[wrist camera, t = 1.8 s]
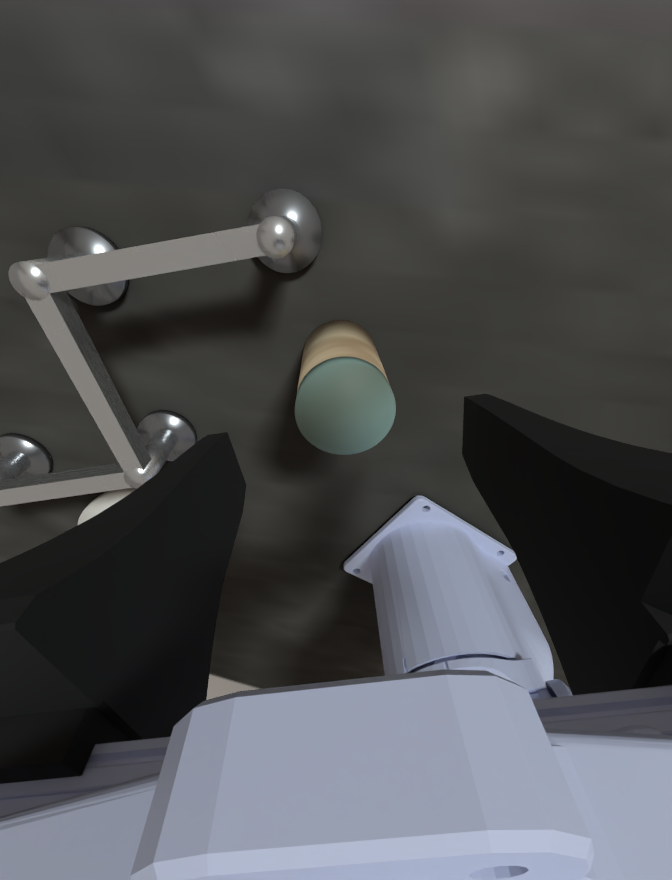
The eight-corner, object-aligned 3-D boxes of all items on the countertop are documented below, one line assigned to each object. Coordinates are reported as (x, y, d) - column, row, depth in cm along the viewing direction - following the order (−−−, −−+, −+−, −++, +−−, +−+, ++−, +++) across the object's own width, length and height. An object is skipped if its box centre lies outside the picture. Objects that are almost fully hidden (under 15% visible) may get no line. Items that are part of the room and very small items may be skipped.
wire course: (336, 223, 15) (340, 226, 12) (143, 527, 24) (113, 579, 20) (118, 38, 12) (39, -30, 9) (-12, 461, 21) (-78, 510, 17)
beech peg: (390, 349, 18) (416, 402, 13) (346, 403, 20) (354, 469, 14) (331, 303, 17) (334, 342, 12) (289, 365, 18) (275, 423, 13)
